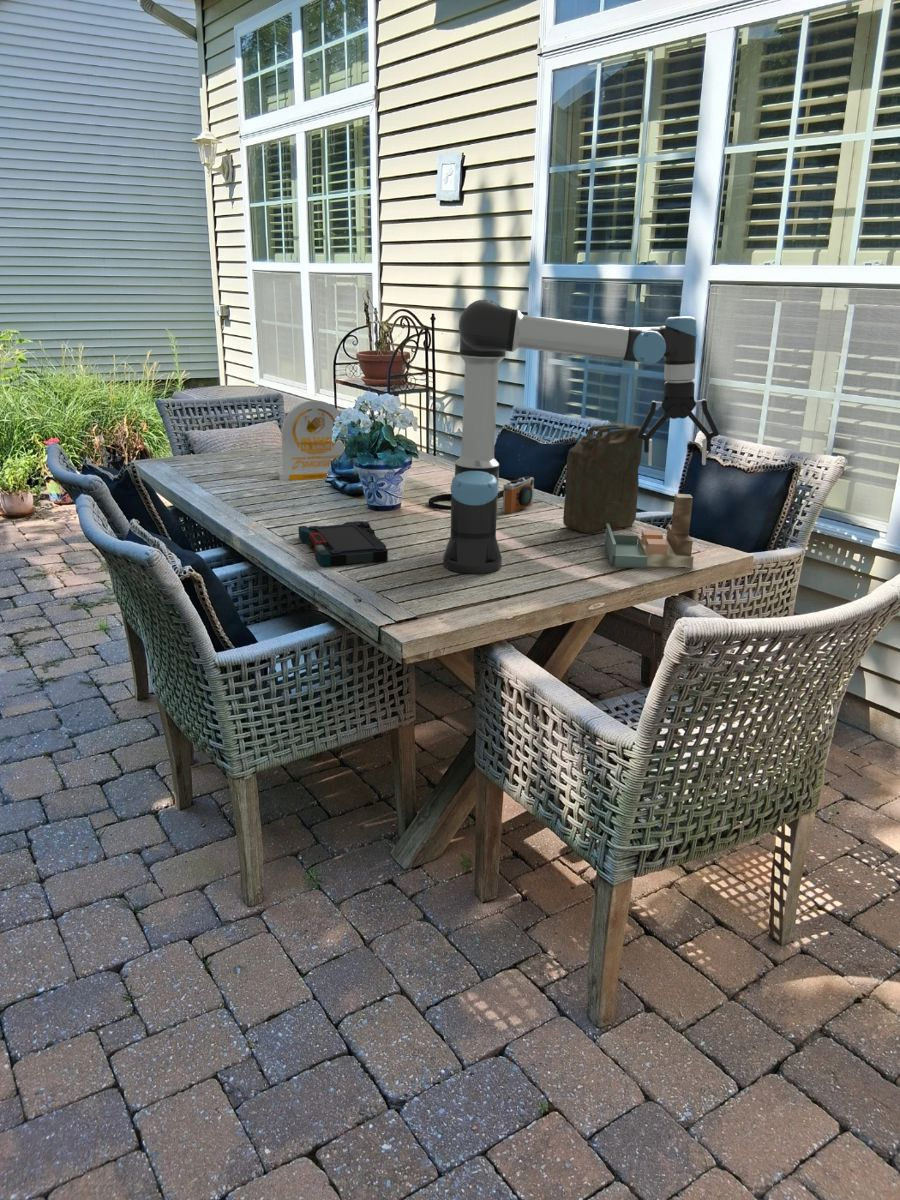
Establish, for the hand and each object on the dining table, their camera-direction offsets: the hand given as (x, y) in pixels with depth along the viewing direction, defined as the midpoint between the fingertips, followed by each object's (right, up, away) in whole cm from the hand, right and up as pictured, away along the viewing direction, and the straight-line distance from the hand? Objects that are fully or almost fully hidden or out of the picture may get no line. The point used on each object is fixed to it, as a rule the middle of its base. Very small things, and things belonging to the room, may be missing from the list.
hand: (676, 464), depth 231 cm
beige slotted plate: (-1, -24, +9) cm, 25 cm away
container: (-14, -13, +38) cm, 42 cm away
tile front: (-4, -22, +4) cm, 23 cm away
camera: (-48, -4, +62) cm, 78 cm away
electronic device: (-88, -22, +12) cm, 91 cm away
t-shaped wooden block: (+2, -21, +7) cm, 22 cm away
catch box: (-12, -23, +9) cm, 28 cm away
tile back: (-4, -19, +12) cm, 23 cm away
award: (-108, +10, +98) cm, 146 cm away
